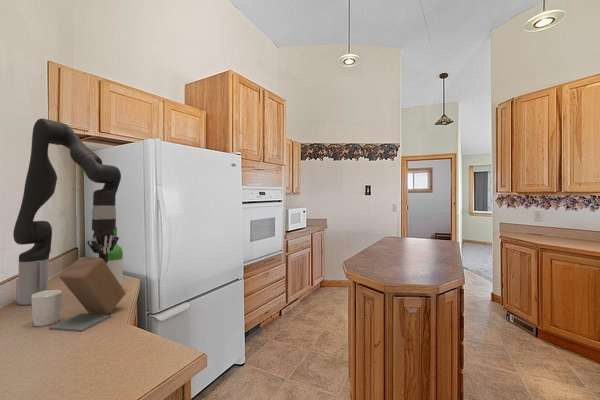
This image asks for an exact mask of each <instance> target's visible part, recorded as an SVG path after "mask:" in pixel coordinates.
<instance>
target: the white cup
mask: <svg viewBox="0 0 600 400" xmlns="http://www.w3.org/2000/svg"><path fill="white" fill-rule="evenodd" d="M62 294H63V293H62V290H60V289H50V290H49V289H48V291H42V292H38V293H35V294H33V295H32V296H31V297H32V304H31V310H32V312H31V313H32V320H33V321H32V324H33V326H34V327H44V326H45V327H46V326H49V325H50V326H51V325H52V324H56V323H57V322H58V321H60V312H61V307H62Z"/></svg>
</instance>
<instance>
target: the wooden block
mask: <svg viewBox="0 0 600 400" xmlns="http://www.w3.org/2000/svg"><path fill="white" fill-rule="evenodd" d="M59 278H60V280H61V281H62V282H63V283H64V285H65V286H66V288H68V289H69V291H70V292H71V293H72V294H73V296H74V297H75V298H76V299H77V300H78V302H79V303H80V304H81V306H82V307H83V308H84V309H85V311H86V312H88V313H91V314H100V315H109V314H111V313H112V312H113V310H114V309H115V308H116V306H117V305H118V304H119V303H120V302H121V301H122V299H123V298H124V297H125V296H126V291H125V290H124V288H123V286H122V287H121V285H120V284H119V282H118V281H117V279H116V277H115V276H114V274H113V273H112V271H111V270H110V268H109V267H108V265H107V264H106V262H105V261H104V259H102V258H99V257H94V256H93V257H92V256H80V257H79V258H78V259H76V261H74V262H73V263H72V264H71V265H70V266H69V267H68V268H67V269H65V271H63V272H62V273H61V274H60V275H59Z"/></svg>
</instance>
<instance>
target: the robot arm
mask: <svg viewBox="0 0 600 400" xmlns="http://www.w3.org/2000/svg"><path fill="white" fill-rule="evenodd" d="M49 145H55V146H63V147H65V148H67V149H68V150H69V154H70V155H69V156H70V158H71V160H73V162H74V163H75V164H76V165H78V166H79V167H80V168H81V169H82V170H83V172H84V174H85V175H86V177H87V178H88V179H89V180H90V181H91V182H93V183H96V184H103V186H102V188H101V189H96V190H94V192H93V194H92V211H91V230H92V231H93V235H92V239H90V240H87V242H86V243H87V245H88V247H89V248H90V250H91V251H92V252H93V253H94V254H98V258H102V259H104V261H105V262H106V263H108V253H109V252H110V251H112V250H113V249H114V247H115V245H116V243H117V244H118V241H119V240H120V239H119V238H120V237H119V236H117V237H115V236H114V231H113V230H115V229H116V227H117V209H116V199H117V198H116V195H117V192H118V189H119V185H120V182H121V179H122V173H121V170H120V169H119V168H118V167H117V166H114V165H109V164H103V160H102V159H101V157H99V156H98V155H97V154H96V153H95V152H94V151H92V150H91V149H89V147H87V146H86V144H85V143H84V142H83V141H82V139H80V137H79V136H78V135H77V134H76V133H75V131H74V130H73V129H72V128H71V127H70V126H69V125H68V124H66V123H64V122H59V121H55V120H51V119H48V118H39V119H37V120H36V121H35V123H34V126H33V128H32V137H31V148H30V156H29V157H30V158H29V163H28V168H27V172H26V173H27V174H26V178H25V182H24V188H23V189H24V190H23V195H22V201H21V205H20V208H19V212H18V215H17V218H16V221H15V224H14V227H13V228H14V229H13V233H12V234H13V235H12V237H13V241H14V242H15V243H16V244H17V245H22V246H23V245H32V244H33V246H32V247H31V248H29V249H28V250H26V251H24V252H22V253H19V255H18V278H17V279H16V283H15V284H16V287H15V288H16V289H15V290H16V291H15V304H18V305H20V306H29V305H32V297H31V296H32V295H33V294H35V293H38V292H42V291H49V288H50V287H49V284H50V283H49V280H50V279H49V277H50V274H49V271H50V269H49V268H50V254H51V251H52V239H53V229H52V228H53V227H52V225H51V224H50V222H49V221H47V220H34V219H35V217H36V214H37V212H38V211H39V210H40V209H41V207H43V205H45V204H46V203H47V201H49V200H50V199H51V198H52V197H53V195H54V194H55V191H56V190H55V189H56V187H57V181H58V175H57V172H56V170H55V168H54V166H53V164H52V162H51V161H50V157H49Z"/></svg>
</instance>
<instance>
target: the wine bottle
mask: <svg viewBox="0 0 600 400" xmlns="http://www.w3.org/2000/svg"><path fill="white" fill-rule="evenodd" d="M113 231H114V236H115V237H118V227H117V226H116V229H115V230H113ZM123 254H124V252H123V249H122V247H121V246H120V245H118V242H117V243H116V245H115V247H114V249H113V250H112V251H110V252H109V253H108V263H106V264H107V265H108V267H109V268H110V270H111V271H112V273H113V274H114V276H115V277H116V279H117V281H118V282H119V284H120V285H121V287H122V288H123V258H124V257H123Z"/></svg>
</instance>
